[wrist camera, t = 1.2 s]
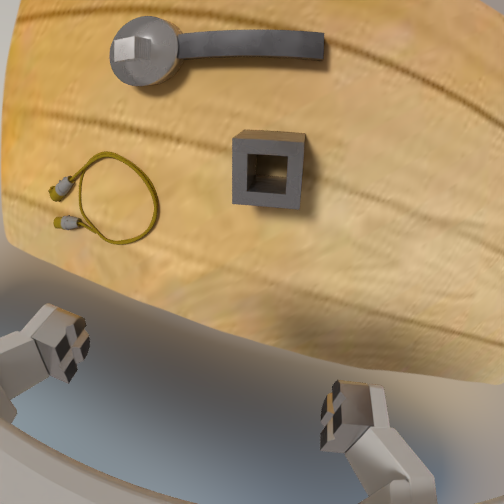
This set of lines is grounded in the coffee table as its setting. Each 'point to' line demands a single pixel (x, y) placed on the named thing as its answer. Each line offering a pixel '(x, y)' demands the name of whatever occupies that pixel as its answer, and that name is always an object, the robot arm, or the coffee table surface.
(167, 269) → the coffee table surface
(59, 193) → the extension cord
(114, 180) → the coffee table surface
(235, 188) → the socket
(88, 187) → the coffee table surface
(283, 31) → the ratchet
